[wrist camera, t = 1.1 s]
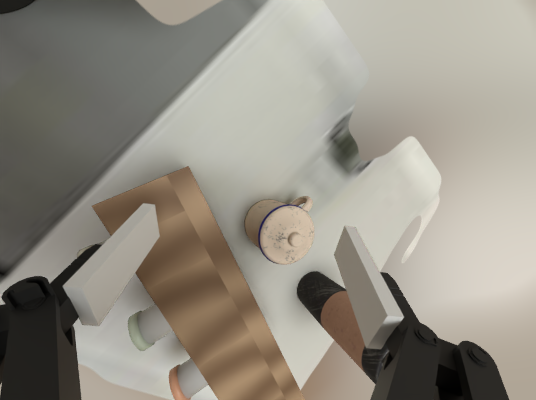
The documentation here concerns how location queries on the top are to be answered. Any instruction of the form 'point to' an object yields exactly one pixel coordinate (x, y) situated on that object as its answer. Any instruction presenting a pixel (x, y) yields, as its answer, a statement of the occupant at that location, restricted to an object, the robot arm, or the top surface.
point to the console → (204, 291)
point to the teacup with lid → (281, 229)
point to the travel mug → (339, 320)
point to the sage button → (147, 327)
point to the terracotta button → (186, 380)
